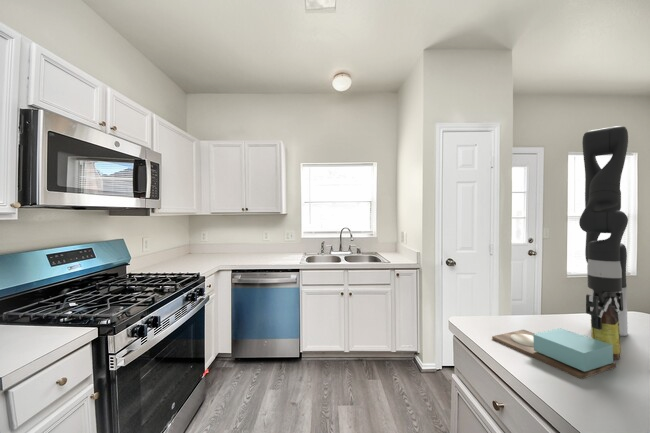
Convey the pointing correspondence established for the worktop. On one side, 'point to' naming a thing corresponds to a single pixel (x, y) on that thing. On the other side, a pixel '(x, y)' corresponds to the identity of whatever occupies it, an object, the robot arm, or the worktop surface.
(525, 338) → the walnut board
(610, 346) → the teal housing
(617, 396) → the worktop surface
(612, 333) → the sauce bottle
